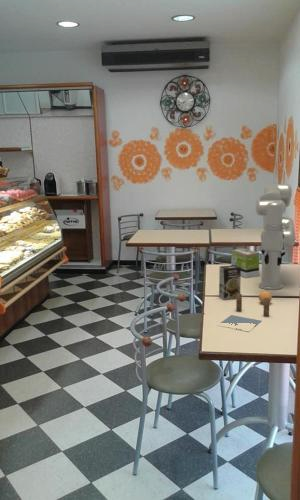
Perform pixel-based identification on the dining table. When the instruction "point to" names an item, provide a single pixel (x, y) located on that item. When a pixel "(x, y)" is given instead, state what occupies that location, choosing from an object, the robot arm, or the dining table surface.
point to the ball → (265, 296)
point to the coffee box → (229, 281)
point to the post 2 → (266, 307)
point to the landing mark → (240, 320)
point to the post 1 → (238, 302)
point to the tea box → (246, 262)
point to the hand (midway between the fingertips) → (272, 264)
